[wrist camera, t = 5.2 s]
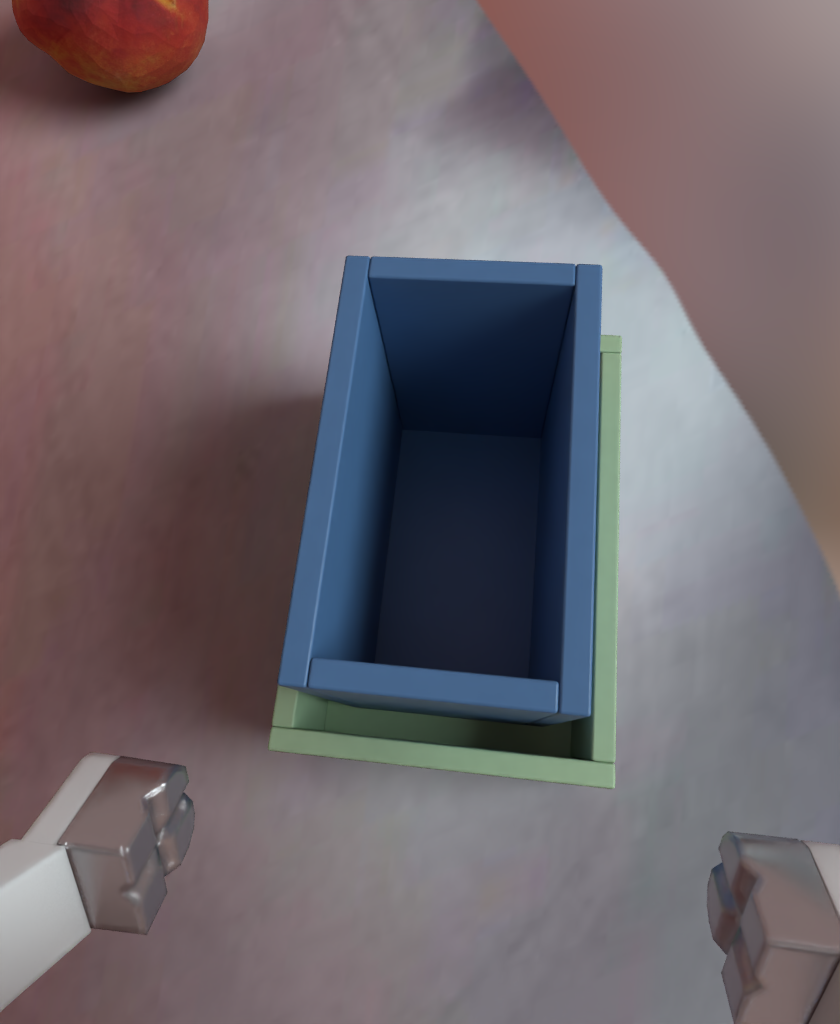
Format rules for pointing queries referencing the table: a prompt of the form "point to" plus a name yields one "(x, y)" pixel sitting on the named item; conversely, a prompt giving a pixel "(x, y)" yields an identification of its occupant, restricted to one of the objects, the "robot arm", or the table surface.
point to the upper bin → (453, 494)
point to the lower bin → (484, 744)
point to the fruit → (117, 38)
